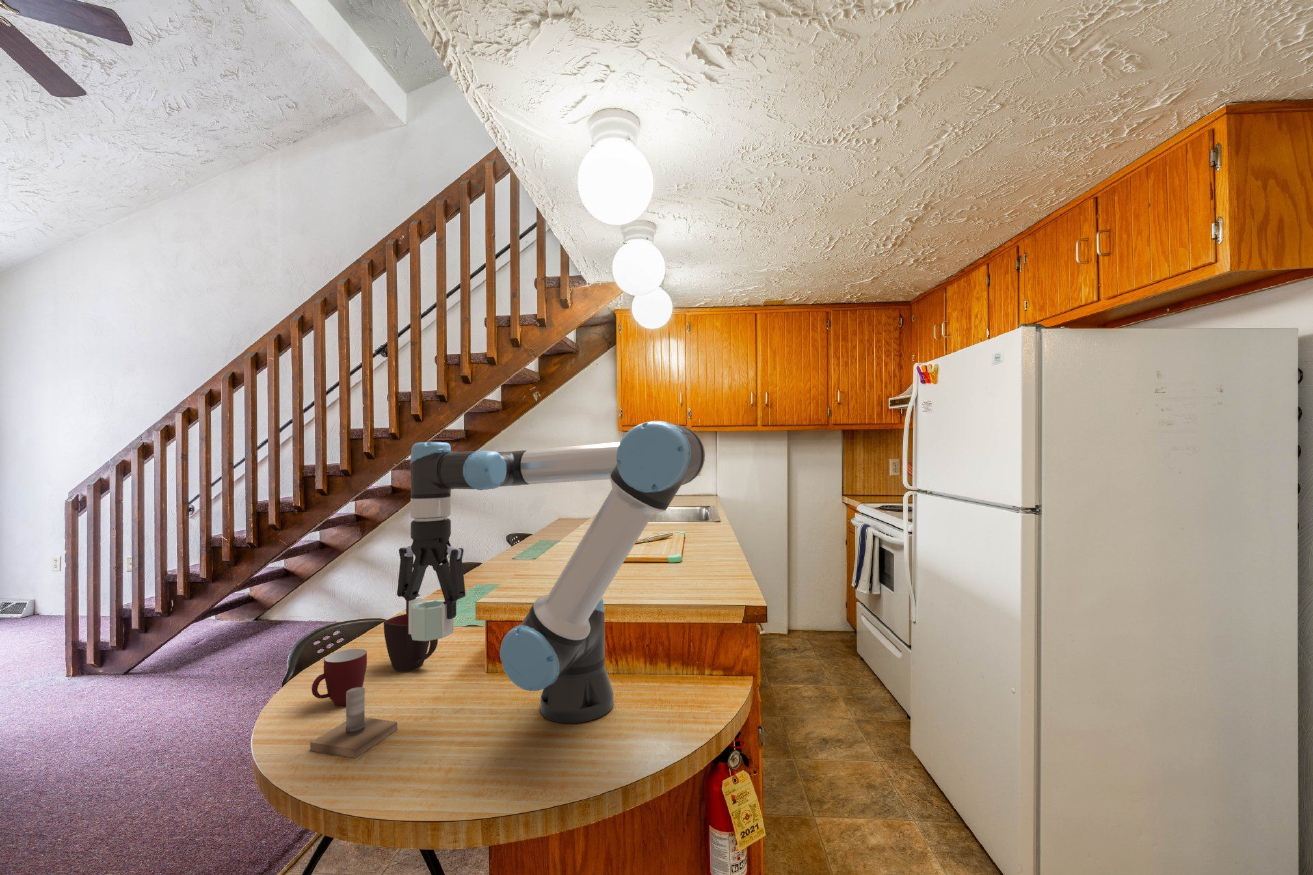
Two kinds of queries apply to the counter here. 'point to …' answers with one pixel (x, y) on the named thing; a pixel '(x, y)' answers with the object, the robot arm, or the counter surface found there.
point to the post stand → (354, 730)
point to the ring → (426, 620)
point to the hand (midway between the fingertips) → (431, 633)
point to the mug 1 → (342, 674)
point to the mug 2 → (405, 645)
